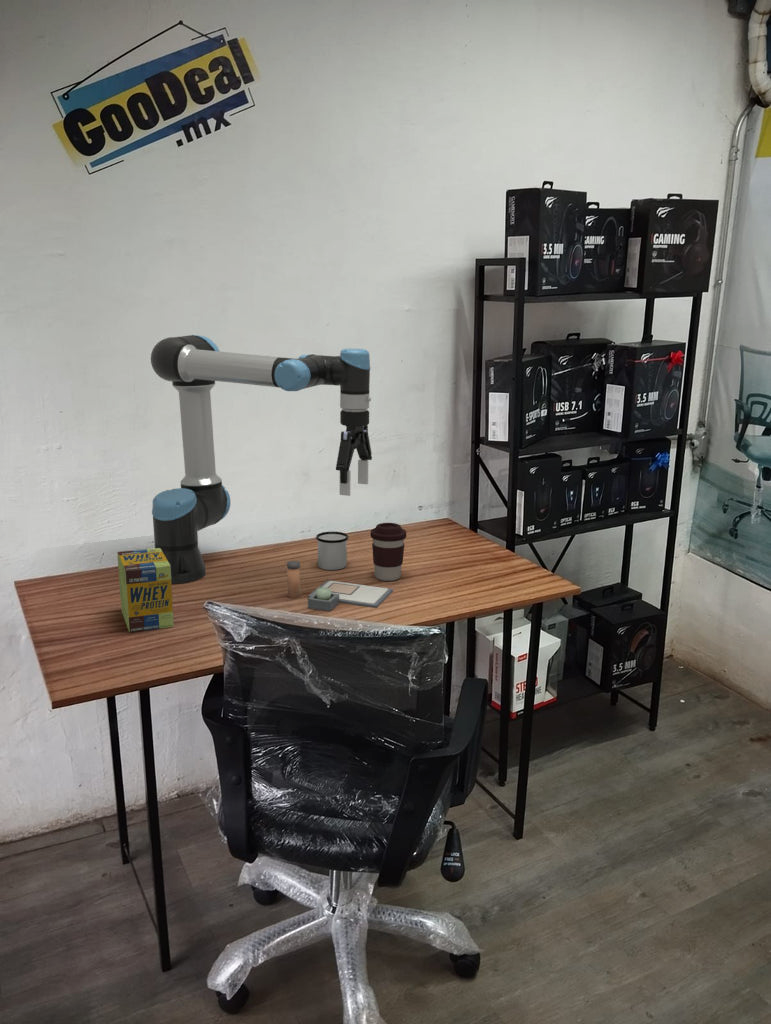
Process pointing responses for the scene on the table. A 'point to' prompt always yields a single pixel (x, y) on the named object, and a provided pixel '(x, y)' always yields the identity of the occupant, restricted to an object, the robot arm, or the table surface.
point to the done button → (324, 593)
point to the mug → (332, 550)
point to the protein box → (145, 589)
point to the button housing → (323, 602)
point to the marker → (293, 579)
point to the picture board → (357, 593)
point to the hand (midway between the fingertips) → (354, 489)
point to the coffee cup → (388, 550)
